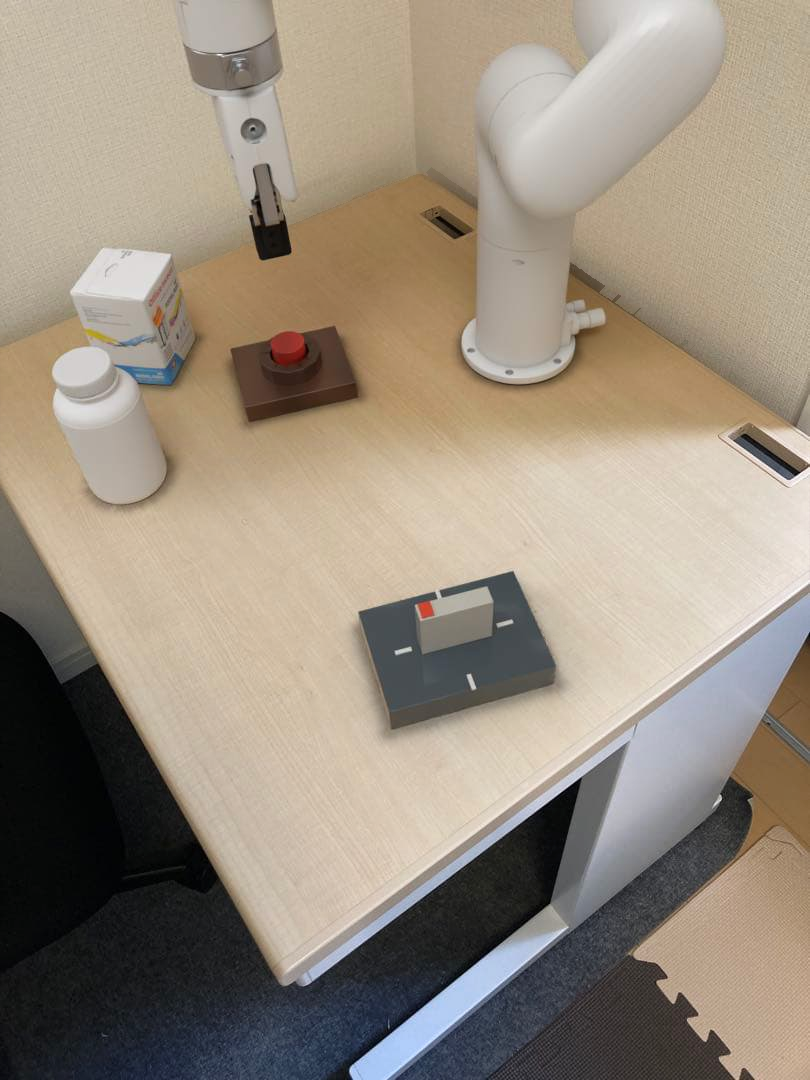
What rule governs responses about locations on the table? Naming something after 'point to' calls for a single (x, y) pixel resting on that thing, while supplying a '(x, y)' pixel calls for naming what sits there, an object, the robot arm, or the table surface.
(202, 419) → the table surface
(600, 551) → the table surface
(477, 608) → the beige rectangular block
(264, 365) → the button block
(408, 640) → the rotary knob panel
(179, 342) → the ink box
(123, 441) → the pill bottle
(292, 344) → the button
